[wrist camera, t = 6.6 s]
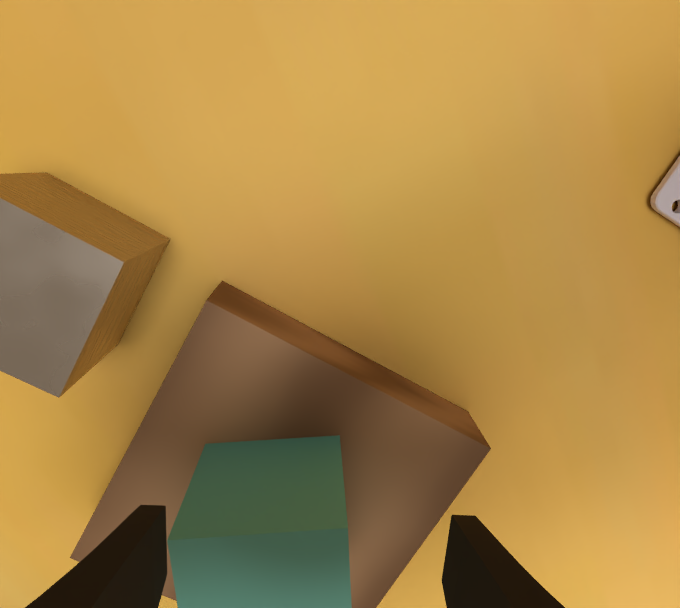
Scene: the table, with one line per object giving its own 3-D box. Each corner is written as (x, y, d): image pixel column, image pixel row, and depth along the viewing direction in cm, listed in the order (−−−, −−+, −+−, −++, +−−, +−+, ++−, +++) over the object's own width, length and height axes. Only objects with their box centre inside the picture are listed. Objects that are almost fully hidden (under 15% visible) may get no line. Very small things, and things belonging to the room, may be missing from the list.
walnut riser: (468, 411, 22) (490, 448, 19) (332, 606, 25) (334, 664, 22) (222, 281, 20) (206, 300, 17) (101, 507, 23) (70, 557, 20)
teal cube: (339, 435, 19) (347, 527, 14) (344, 546, 20) (354, 665, 15) (205, 443, 19) (167, 540, 14) (219, 555, 20) (189, 678, 15)
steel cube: (170, 238, 20) (124, 262, 15) (118, 343, 21) (59, 397, 16) (48, 172, 19) (-44, 175, 14) (0, 285, 20) (-102, 324, 15)
